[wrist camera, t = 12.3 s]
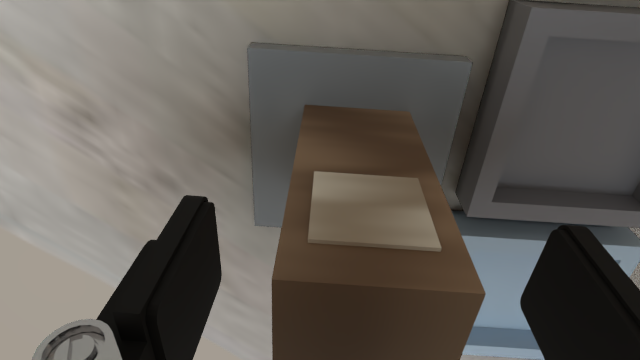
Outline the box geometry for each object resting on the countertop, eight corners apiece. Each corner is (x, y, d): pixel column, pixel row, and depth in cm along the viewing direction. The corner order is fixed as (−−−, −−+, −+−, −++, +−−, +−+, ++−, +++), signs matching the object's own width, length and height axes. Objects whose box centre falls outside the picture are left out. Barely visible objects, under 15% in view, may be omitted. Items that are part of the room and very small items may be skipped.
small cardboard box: (410, 109, 15) (487, 290, 7) (393, 198, 17) (439, 410, 9) (304, 102, 15) (271, 275, 7) (301, 191, 17) (272, 398, 9)
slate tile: (466, 56, 15) (472, 62, 14) (424, 226, 19) (428, 236, 18) (251, 42, 15) (247, 47, 14) (257, 215, 19) (254, 225, 18)
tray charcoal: (742, 14, 14) (793, 24, 12) (632, 203, 18) (660, 229, 16) (510, -1, 14) (531, 7, 12) (455, 192, 18) (466, 216, 16)
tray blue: (622, 221, 18) (648, 247, 17) (558, 332, 23) (574, 361, 21) (450, 210, 18) (460, 235, 17) (418, 323, 23) (424, 351, 21)
